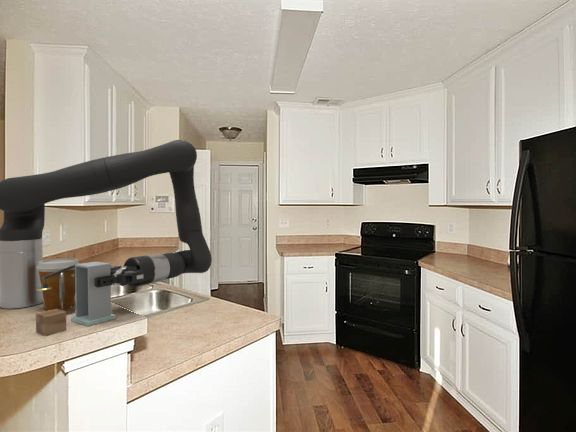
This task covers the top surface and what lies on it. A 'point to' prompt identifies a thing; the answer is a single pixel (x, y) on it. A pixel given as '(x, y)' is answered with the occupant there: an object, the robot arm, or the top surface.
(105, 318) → the slab
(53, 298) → the disposable coffee cup
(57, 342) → the top surface
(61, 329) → the block
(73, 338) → the top surface
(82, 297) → the cover
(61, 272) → the balance
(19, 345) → the top surface
